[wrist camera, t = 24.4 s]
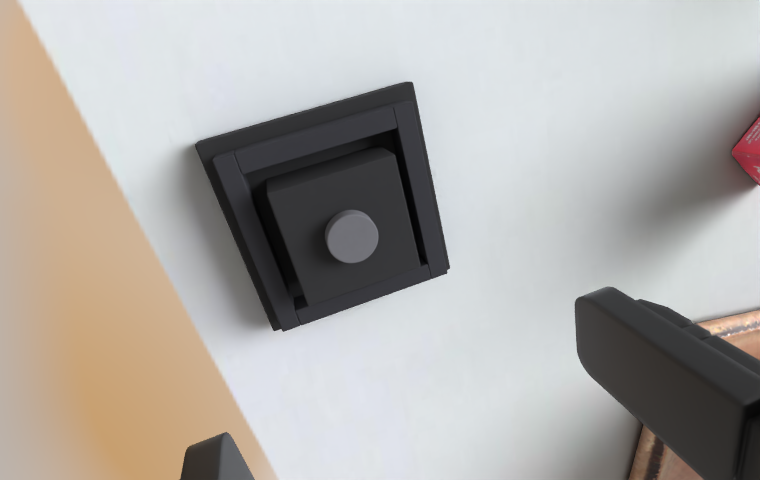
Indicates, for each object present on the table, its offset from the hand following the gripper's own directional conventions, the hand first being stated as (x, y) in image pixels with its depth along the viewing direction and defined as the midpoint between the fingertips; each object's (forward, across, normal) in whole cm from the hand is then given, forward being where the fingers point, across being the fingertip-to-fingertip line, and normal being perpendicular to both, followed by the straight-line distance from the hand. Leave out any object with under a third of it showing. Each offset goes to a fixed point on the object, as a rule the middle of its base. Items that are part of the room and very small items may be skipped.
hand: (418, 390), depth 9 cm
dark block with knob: (+15, -1, +1) cm, 15 cm away
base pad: (+16, -1, +1) cm, 16 cm away
